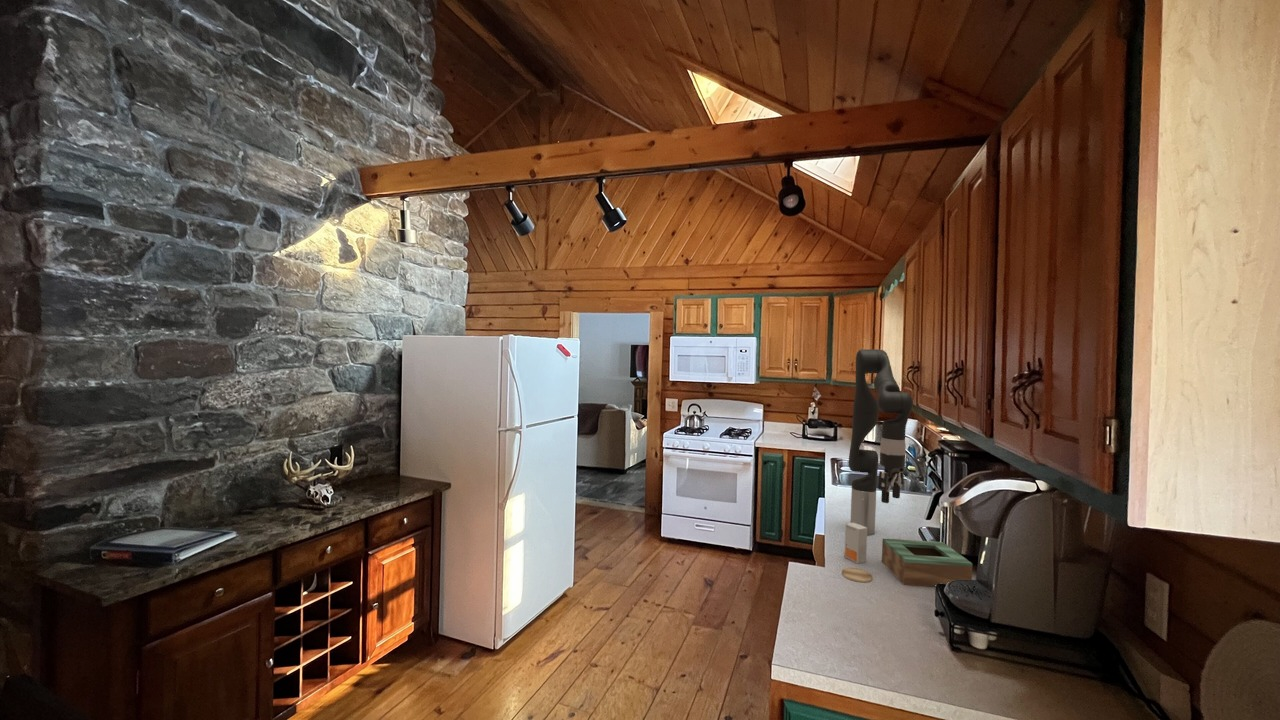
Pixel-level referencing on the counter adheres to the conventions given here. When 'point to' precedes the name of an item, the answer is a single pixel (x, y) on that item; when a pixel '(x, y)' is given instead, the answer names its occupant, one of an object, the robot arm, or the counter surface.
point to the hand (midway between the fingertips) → (890, 500)
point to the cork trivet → (857, 575)
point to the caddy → (924, 562)
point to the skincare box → (855, 542)
